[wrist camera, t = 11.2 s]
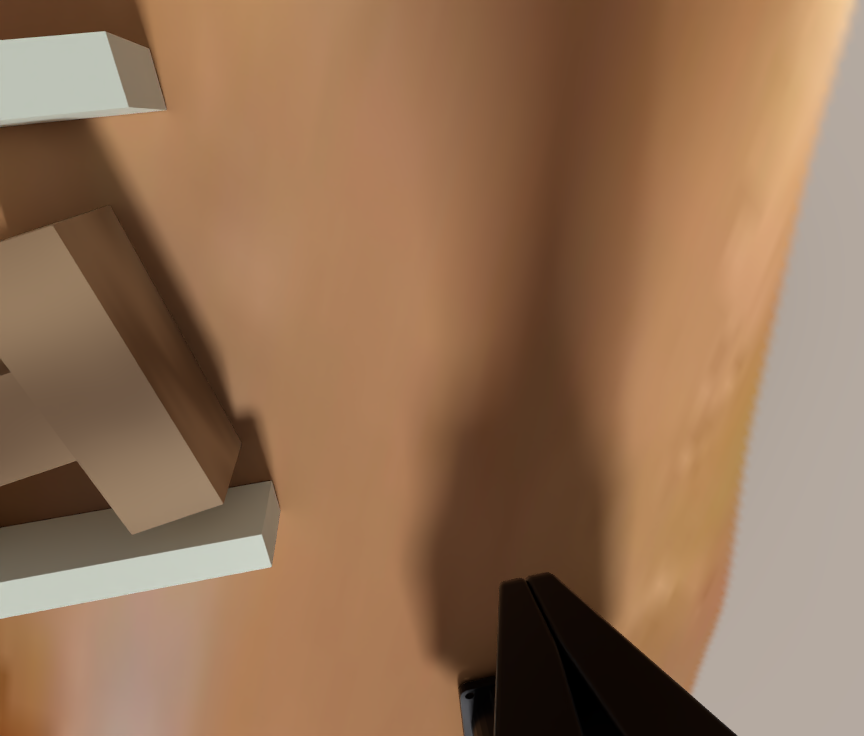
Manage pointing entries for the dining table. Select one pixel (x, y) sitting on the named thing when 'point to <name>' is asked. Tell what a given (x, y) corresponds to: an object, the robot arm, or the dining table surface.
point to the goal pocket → (103, 530)
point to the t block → (104, 376)
